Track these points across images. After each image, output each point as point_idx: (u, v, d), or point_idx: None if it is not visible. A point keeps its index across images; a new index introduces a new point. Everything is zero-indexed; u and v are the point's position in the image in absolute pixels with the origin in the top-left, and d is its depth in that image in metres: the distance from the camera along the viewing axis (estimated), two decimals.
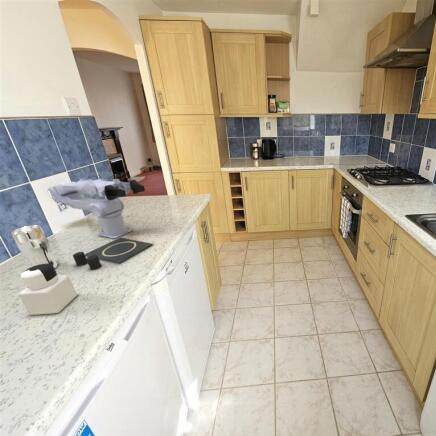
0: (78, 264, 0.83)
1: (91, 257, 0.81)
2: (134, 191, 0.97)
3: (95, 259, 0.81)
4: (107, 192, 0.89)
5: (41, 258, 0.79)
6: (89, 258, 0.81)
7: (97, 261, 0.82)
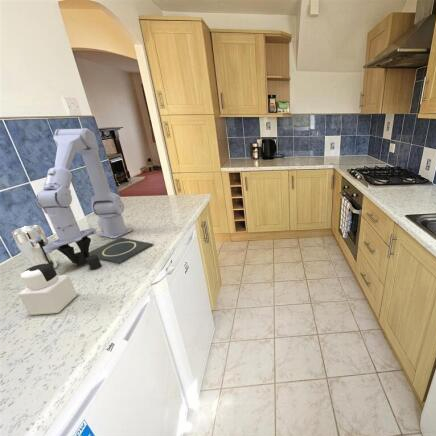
0: (78, 264, 0.83)
1: (91, 257, 0.81)
2: (77, 243, 0.84)
3: (95, 259, 0.81)
4: None
5: (41, 258, 0.79)
6: (89, 258, 0.81)
7: (97, 261, 0.82)
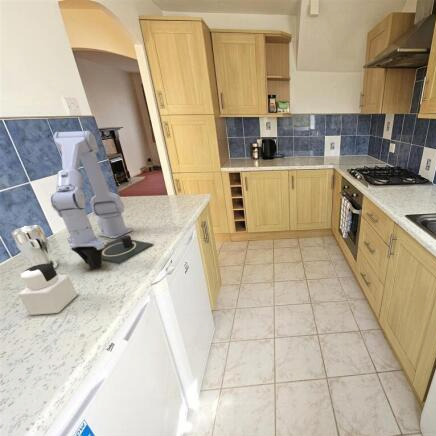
0: (125, 246, 0.93)
1: None
2: None
3: None
4: None
5: (41, 258, 0.79)
6: None
7: None
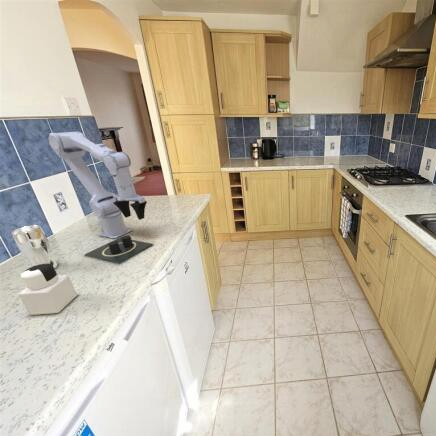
0: (125, 246, 0.93)
1: (112, 243, 0.89)
2: None
3: (116, 244, 0.88)
4: None
5: (41, 258, 0.79)
6: (110, 243, 0.88)
7: (117, 246, 0.89)
